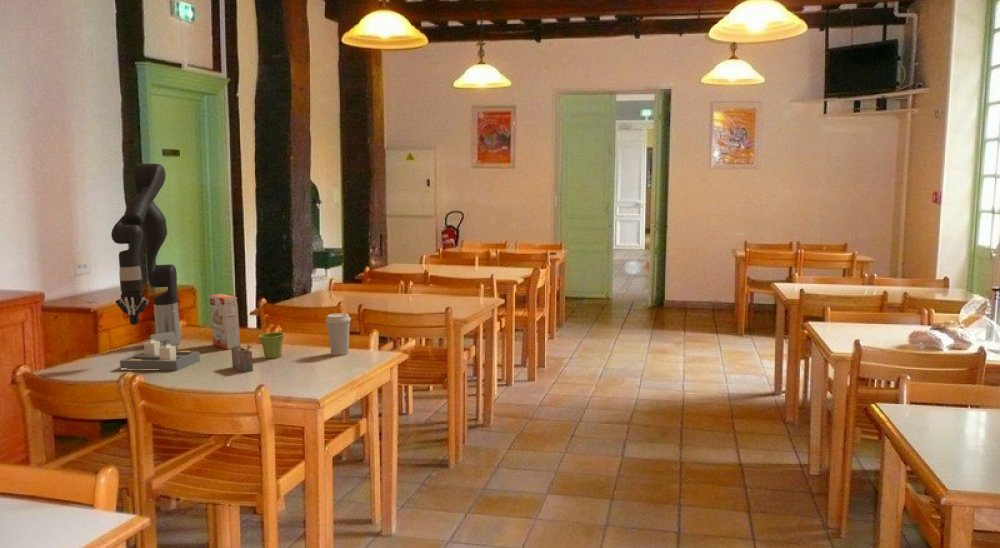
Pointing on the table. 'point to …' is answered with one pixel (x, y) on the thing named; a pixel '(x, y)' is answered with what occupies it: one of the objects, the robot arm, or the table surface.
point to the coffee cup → (338, 333)
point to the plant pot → (272, 344)
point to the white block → (152, 347)
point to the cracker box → (225, 321)
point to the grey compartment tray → (160, 361)
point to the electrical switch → (165, 339)
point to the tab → (168, 352)
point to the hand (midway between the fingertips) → (134, 324)
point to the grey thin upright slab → (242, 359)
